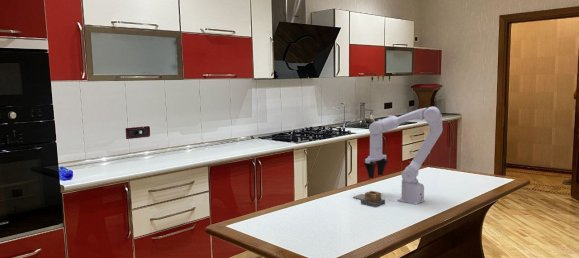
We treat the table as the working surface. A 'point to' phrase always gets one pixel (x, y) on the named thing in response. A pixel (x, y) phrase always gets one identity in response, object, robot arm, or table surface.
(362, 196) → the mat
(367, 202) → the vise block
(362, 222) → the table surface
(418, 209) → the table surface
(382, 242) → the table surface
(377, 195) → the brown wooden box
